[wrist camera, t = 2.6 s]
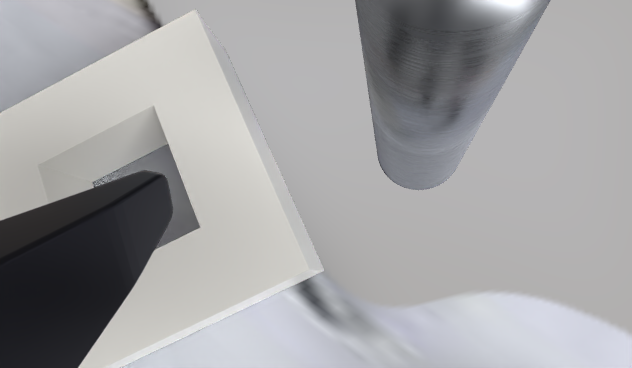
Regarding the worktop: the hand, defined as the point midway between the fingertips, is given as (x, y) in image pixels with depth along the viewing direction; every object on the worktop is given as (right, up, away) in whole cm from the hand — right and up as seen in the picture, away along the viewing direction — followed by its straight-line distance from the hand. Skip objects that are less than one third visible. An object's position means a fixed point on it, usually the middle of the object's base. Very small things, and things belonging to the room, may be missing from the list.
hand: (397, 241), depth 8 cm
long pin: (+3, +3, +12) cm, 13 cm away
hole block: (-9, 0, +13) cm, 16 cm away
